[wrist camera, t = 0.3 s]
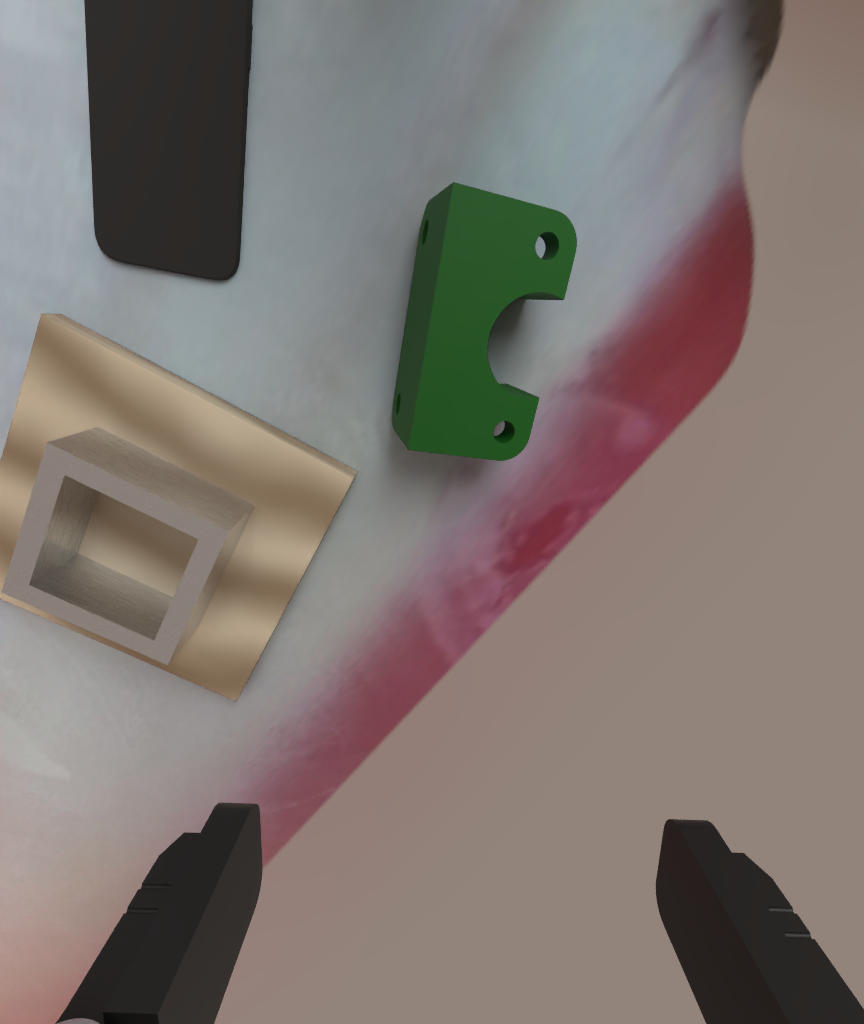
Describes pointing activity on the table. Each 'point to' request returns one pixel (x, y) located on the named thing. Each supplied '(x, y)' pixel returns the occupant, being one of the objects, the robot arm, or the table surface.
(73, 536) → the steel collar
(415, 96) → the table surface
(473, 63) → the table surface
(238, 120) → the phone
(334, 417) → the table surface
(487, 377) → the clamp
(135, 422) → the base plate
